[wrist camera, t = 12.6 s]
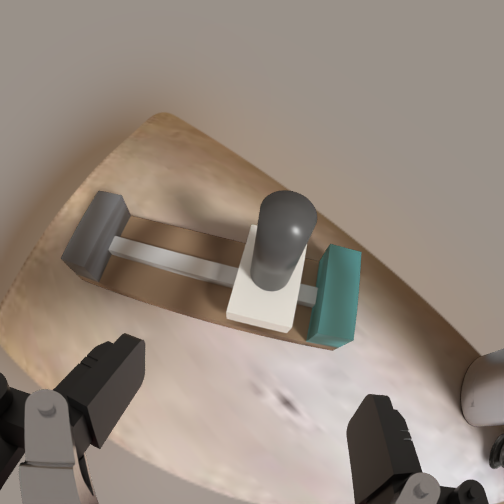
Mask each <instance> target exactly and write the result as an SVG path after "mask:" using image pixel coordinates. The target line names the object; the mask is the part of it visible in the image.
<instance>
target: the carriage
mask: <svg viewBox="0 0 504 504" xmlns="http://www.w3.org/2000/svg"><path fill="white" fill-rule="evenodd" d="M316 222H317V212H316V209H315V207H314V205H313V204H312V203H311V202H310V201H309V200H308V199H307V198H306V197H304V196H303V195H301V194H299V193H297V192H293V191H286V190H284V191H277V192H274V193H271V194H270V195H268V196H267V197H266V198H265V199H264V200H263V202H262V204H261V207H260V213H259V219H258V225H253V224H252V225H251V228H250V231H249V235H248V238H247V242H246V245H245V249H244V252H243V255H242V259H241V262H240V266H239V269H238V273H237V276H236V280H235V283H234V286H233V290H232V293H231V297H230V300H229V304H228V307H227V311H226V317H227V319H230V320H234V321H238V322H242V323H246V324H250V325H254V326H258V327H262V328H266V329H270V330H275V331H279V332H284V333H288V331H289V330H290V329H291V328H292V325H293V320H294V314H295V309H296V304H297V299H298V294H299V288H300V283H301V277H302V271H303V266H304V260H305V254H306V248H307V242H308V240H309V238H310V236H311V234H312V232H313V229H314V227H315V225H316Z"/></svg>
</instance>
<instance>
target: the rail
mask: <svg viewBox="0 0 504 504" xmlns="http://www.w3.org/2000/svg"><path fill="white" fill-rule="evenodd" d="M245 245H246V243H242V242H238V241H234V240H230V239H226V238H222V237H217V236H213V235H209V234H205V233H201V232H197V231H193V230H188V229H184V228H180V227H176V226H172V225H168V224H163V223H159V222H155V221H151V220H147V219H143V218H138V217H134V216H131V215H130V213H129V210H128V208H127V206H126V204H125V201H124V199H123V197H122V195H118V194H113V193H108V192H103V191H98V192H97V194H96V196H95V197H94V199H93V201H92V202H91V204H90V205H89V207H88V209H87V211H86V212H85V214H84V216H83V217H82V219H81V221H80V223H79V225H78V226H77V228H76V230H75V232H74V234H73V236H72V237H71V239H70V241H69V243H68V245H67V247H66V249H65V251H64V253H63V255H62V257H61V259H62V260H63V261H64V262H65V263H66V264H67V265H68V266H69V267H70V268H71V269H72V270H73V271H74V272H75V273H76V274H77V275H78V276H79V277H80V278H81V279H82V280H84V281H87V282H89V283H92V284H95V285H97V286H100V287H103V288H105V289H108V290H111V291H114V292H116V293H119V294H122V295H125V296H128V297H131V298H133V299H136V300H139V301H142V302H145V303H148V304H151V305H154V306H158V307H161V308H164V309H167V310H170V311H173V312H177V313H180V314H183V315H187V316H190V317H193V318H197V319H200V320H204V321H207V322H211V323H215V324H218V325H222V326H226V327H229V328H233V329H237V330H241V331H245V332H249V333H253V334H257V335H261V336H265V337H270V338H274V339H279V340H283V341H288V342H292V343H297V344H302V345H306V346H311V347H316V348H322V349H327V350H335V349H337V348H339V347H341V346H343V345H345V344H347V343H349V342H351V341H353V340H354V332H355V324H356V315H357V305H358V294H359V282H360V267H361V252H359V251H355V250H352V249H348V248H344V247H340V246H337V245H333V244H330V245H329V247H328V248H327V250H326V252H325V253H324V255H323V256H322V258H321V260H320V261H315V260H311V259H307V258H305V260H304V266H303V271H302V277H301V283H300V288H299V294H298V299H297V304H296V309H295V314H294V320H293V325H292V328H291V329H290V330H289V331H288V333H284V332H279V331H275V330H270V329H266V328H262V327H258V326H254V325H250V324H246V323H242V322H238V321H234V320H230V319H227V317H226V311H227V307H228V304H229V300H230V297H231V293H232V290H233V286H234V283H235V280H236V276H237V273H238V269H239V266H240V262H241V259H242V255H243V252H244V249H245Z"/></svg>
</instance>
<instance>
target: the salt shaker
mask: <svg viewBox="0 0 504 504" xmlns="http://www.w3.org/2000/svg"><path fill="white" fill-rule="evenodd" d="M489 463H490V467H491V468H493V469H497V468H498V467H500V466H502V467H503V468H504V434H502V435H500V436H499V437H498V439H497V440H496V441H495V443H494V445H493V448H492V450H491V454H490V459H489Z"/></svg>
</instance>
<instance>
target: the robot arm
mask: <svg viewBox="0 0 504 504" xmlns="http://www.w3.org/2000/svg"><path fill="white" fill-rule="evenodd" d="M144 375H145V341H144V340H141V339H139V338H136V337H134V336H131V335H128V334H126V333H124V334H122V335H121V336H120V337H119V338H118V339H117V341H116V342H115V343H114V344H113V343H111V342H109V341H107V342H105V343H103V344H100V345H98V346H96V347H95V348H94V349H93V350H92V351H91V352H90V353H89V354H88V355H87V357H85V358H84V359H83V360H82V361H81V363H80V364H78V365H77V366H76V367H75V368H74V369H73V370H72V371H71V372H70V373H69V374H68V375H67V376H66V377H65V378H64V379H63V380H62V381H61V382H60V383H59V385H58V386H57V387H56V388H54V389H53V390H48V389H42V390H38V391H35V392H33V393H32V394H28V393H25V392H23V391H19V390H17V389H14V388H11V387H9V385H8V383H7V380H6V378H5V377H4V376H3V374H2V373H0V490H1V488H2V486H3V485H4V483H5V482H6V480H7V479H8V477H9V475H10V474H11V472H12V471H13V470H14V468H15V467H16V465H17V463H18V462H19V461H20V459H21V458H22V456H23V455H24V453H25V462H24V463H20V465H19V480H20V489H21V496H22V503H23V504H99V502H98V500H97V497H96V494H95V490H94V487H93V483H92V479H91V475H90V471H89V467H88V462H87V457H86V453H85V451H86V450H87V448H88V447H89V445H90V444H91V445H93V446H95V447H97V448H99V449H101V447H102V445H103V444H104V442H105V441H106V439H107V438H108V436H109V434H110V433H111V431H112V430H113V428H114V427H115V425H116V424H117V422H118V420H119V419H120V417H121V416H122V414H123V413H124V411H125V410H126V408H127V407H128V405H129V403H130V402H131V400H132V399H133V397H134V396H135V394H136V393H137V391H138V390H139V388H140V387H141V385H142V382H143V379H144ZM461 404H462V410H463V414H464V416H465V419H466V420H467V421H468V423H469V424H471V425H472V426H476V427H482V426H496V425H504V349H501V350H498V351H496V352H493V353H490V354H487V355H484V356H481V357H479V358H477V359H476V360H475V361H474V362H473V363H472V364H471V365H470V367H469V369H468V370H467V373H466V375H465V378H464V381H463V386H462V392H461ZM347 442H348V449H349V456H350V464H351V472H352V480H353V489H354V498H355V504H489V503H488V500H487V497H486V493H485V490H484V488H483V486H482V485H481V484H480V483H479V482H477V481H475V480H466V481H464V482H463V483H462V484H461V485H459V486H458V487H457V488H451V487H443V486H440V485H439V483H438V481H437V480H436V479H435V478H434V477H433V476H431V475H430V474H427V473H423V472H422V469H421V466H420V463H419V460H418V457H417V454H416V450H415V447H414V444H413V441H411V436H410V433H409V432H408V427H407V424H406V422H405V419H404V418H403V417H402V415H401V414H400V413H399V412H398V411H397V410H394V409H393V406H392V403H391V401H390V398H389V397H388V396H385V395H374V394H368V395H367V396H366V397H365V398H364V400H363V401H362V403H361V405H360V406H359V408H358V409H357V411H356V412H355V414H354V415H353V417H352V418H351V420H350V421H349V424H348V427H347Z"/></svg>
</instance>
